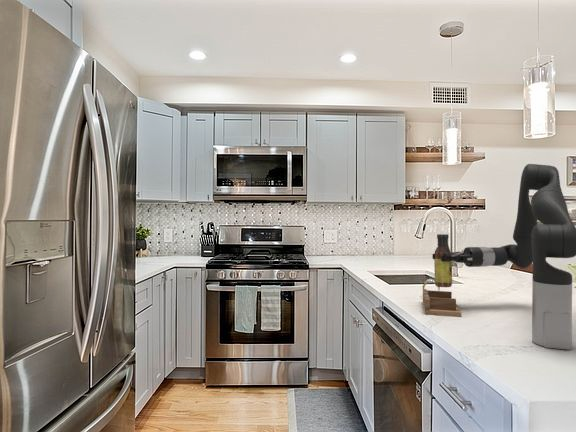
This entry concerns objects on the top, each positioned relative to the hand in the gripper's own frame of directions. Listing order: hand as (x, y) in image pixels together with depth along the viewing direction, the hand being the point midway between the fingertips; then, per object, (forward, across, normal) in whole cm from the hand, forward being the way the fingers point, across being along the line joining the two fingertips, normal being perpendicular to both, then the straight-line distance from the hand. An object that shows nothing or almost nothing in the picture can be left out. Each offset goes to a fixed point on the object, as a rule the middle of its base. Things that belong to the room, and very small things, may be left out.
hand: (437, 257), depth 149 cm
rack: (-1, 0, +20) cm, 20 cm away
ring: (-8, -21, +20) cm, 30 cm away
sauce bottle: (-2, 0, +11) cm, 11 cm away
